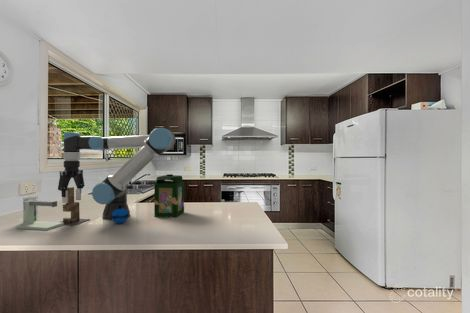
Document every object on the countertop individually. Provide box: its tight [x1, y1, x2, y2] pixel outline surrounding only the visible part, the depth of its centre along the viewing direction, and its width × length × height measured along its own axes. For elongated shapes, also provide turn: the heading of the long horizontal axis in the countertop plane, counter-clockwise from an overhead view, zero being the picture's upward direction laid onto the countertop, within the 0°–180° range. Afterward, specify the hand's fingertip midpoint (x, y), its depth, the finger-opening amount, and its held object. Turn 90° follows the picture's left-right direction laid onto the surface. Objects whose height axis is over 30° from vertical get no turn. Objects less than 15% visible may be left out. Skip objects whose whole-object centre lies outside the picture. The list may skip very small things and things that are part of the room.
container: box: [153, 173, 185, 219], centre depth 164 cm, size 15×18×25 cm
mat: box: [59, 218, 91, 227], centre depth 145 cm, size 12×12×1 cm
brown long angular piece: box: [62, 186, 81, 224], centre depth 144 cm, size 4×7×19 cm, turn 169°
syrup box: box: [22, 194, 39, 224], centre depth 144 cm, size 6×6×14 cm
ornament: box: [111, 205, 130, 225], centre depth 143 cm, size 9×9×10 cm
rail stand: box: [16, 200, 65, 231], centre depth 136 cm, size 18×10×13 cm, turn 79°
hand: (71, 201), depth 144 cm, fingers open, 8 cm apart
